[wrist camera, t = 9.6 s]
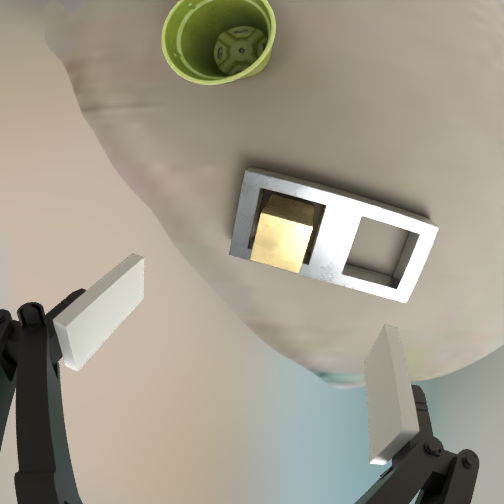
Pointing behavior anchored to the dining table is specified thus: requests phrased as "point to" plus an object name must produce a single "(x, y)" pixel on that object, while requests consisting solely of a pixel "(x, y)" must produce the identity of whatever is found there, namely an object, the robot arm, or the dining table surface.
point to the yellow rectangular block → (283, 233)
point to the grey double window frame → (337, 233)
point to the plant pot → (218, 39)
